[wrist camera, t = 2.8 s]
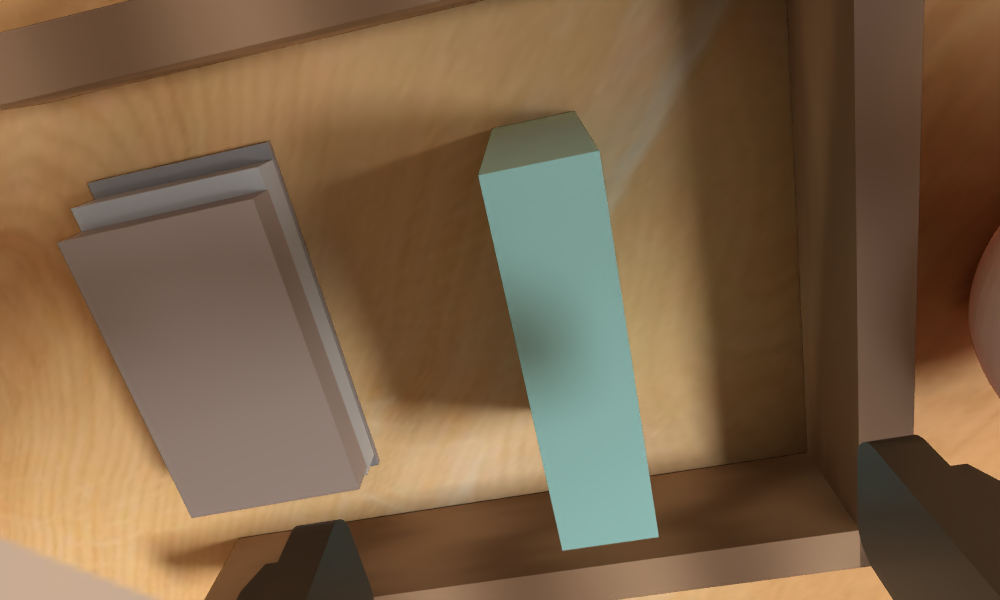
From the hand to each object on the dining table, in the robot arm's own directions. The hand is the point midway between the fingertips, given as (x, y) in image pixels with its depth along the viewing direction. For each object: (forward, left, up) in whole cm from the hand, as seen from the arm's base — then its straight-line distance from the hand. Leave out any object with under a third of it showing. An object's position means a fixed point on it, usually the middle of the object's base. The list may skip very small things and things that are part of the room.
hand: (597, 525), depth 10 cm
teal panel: (0, 0, -12) cm, 12 cm away
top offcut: (+11, 0, -11) cm, 15 cm away
